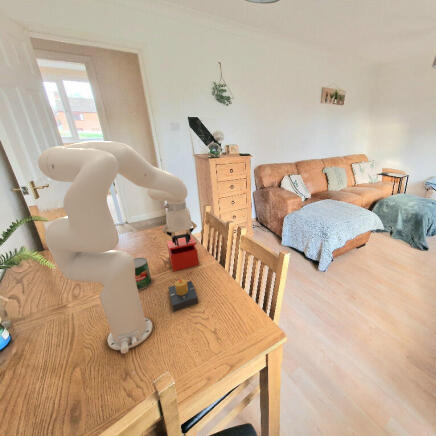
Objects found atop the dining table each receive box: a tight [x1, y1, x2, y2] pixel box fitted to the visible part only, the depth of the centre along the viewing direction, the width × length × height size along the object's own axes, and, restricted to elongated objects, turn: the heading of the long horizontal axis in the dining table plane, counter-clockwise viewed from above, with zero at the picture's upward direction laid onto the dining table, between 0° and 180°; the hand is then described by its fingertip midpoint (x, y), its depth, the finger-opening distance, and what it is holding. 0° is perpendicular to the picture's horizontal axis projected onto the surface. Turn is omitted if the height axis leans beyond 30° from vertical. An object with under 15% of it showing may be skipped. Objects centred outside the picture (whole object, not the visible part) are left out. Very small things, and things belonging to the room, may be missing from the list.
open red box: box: [166, 243, 200, 272], centre depth 119 cm, size 14×12×9 cm
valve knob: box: [174, 278, 188, 296], centre depth 95 cm, size 4×4×5 cm
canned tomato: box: [134, 257, 153, 291], centre depth 101 cm, size 8×8×11 cm
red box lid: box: [166, 233, 197, 250], centre depth 116 cm, size 14×12×6 cm
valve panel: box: [167, 280, 199, 312], centre depth 96 cm, size 12×9×3 cm
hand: (181, 242), depth 113 cm, fingers closed on red box lid, 5 cm apart
